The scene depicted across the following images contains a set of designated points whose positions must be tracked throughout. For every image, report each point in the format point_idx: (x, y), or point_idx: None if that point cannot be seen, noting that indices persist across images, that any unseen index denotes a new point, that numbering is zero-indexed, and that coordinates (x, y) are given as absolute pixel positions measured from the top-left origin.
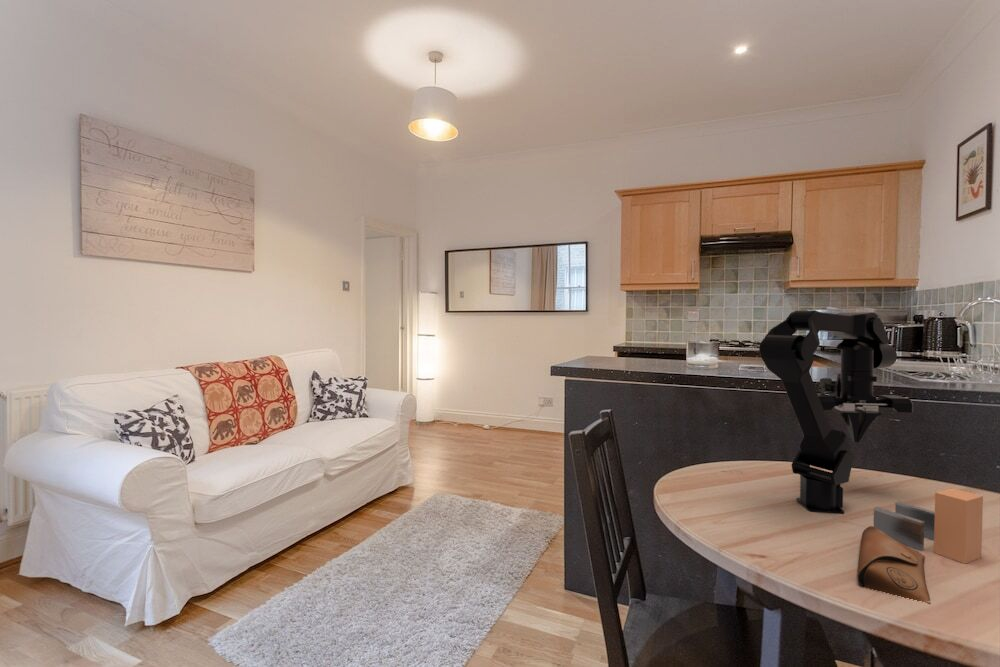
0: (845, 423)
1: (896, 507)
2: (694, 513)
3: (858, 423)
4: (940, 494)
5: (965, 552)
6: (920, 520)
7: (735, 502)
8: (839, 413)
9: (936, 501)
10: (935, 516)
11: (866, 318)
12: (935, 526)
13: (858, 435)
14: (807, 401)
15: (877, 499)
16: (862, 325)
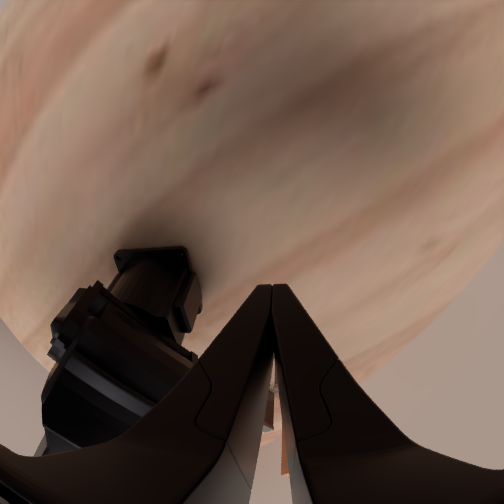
0: (182, 380)
1: (276, 380)
2: (22, 327)
3: (252, 471)
4: (284, 475)
5: None
6: (270, 428)
7: (37, 283)
8: (83, 449)
9: (282, 463)
10: (282, 443)
11: None
12: (282, 430)
13: (275, 365)
14: None
15: (336, 180)
16: None
